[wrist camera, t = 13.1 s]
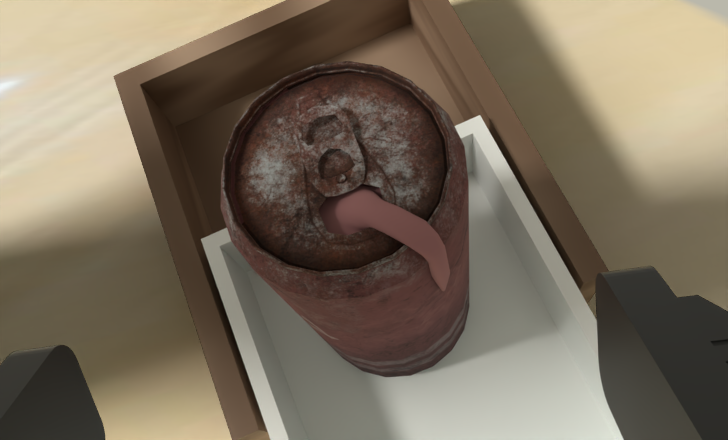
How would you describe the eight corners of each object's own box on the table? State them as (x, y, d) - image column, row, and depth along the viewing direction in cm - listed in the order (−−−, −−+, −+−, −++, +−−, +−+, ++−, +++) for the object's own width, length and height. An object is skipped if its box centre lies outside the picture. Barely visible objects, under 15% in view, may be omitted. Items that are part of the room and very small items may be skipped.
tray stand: (269, 448, 30) (232, 441, 25) (159, 128, 36) (113, 76, 31) (587, 304, 30) (609, 271, 25) (421, 12, 36) (414, -57, 32)
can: (423, 413, 27) (380, 348, 14) (294, 326, 29) (155, 201, 16) (502, 285, 29) (529, 120, 16) (374, 211, 31) (304, 10, 18)
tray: (339, 670, 25) (307, 716, 20) (206, 283, 31) (157, 245, 26) (707, 501, 26) (765, 505, 21) (506, 149, 32) (513, 87, 27)
